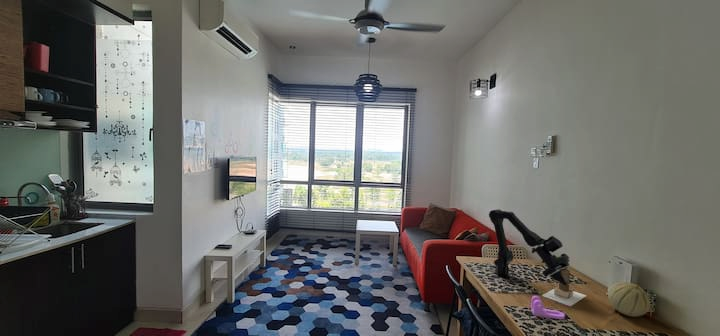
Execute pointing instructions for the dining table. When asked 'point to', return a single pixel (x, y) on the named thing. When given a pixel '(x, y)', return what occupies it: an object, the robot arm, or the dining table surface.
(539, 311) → the bracket
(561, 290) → the brown piece
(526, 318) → the dining table surface
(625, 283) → the cantaloupe
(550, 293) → the board
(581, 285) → the dining table surface
